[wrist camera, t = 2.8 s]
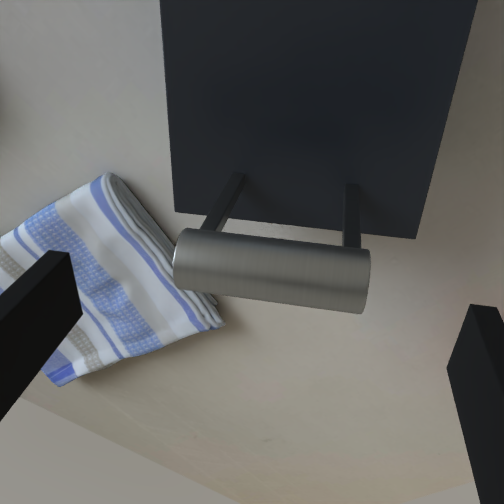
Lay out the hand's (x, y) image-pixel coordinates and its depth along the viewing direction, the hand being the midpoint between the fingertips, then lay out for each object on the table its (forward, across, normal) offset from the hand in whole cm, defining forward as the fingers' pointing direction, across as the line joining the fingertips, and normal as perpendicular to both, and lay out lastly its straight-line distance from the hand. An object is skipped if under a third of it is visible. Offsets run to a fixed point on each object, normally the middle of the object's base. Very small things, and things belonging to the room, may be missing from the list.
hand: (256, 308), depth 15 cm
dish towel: (+20, -20, -17) cm, 33 cm away
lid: (+11, 0, +6) cm, 13 cm away
